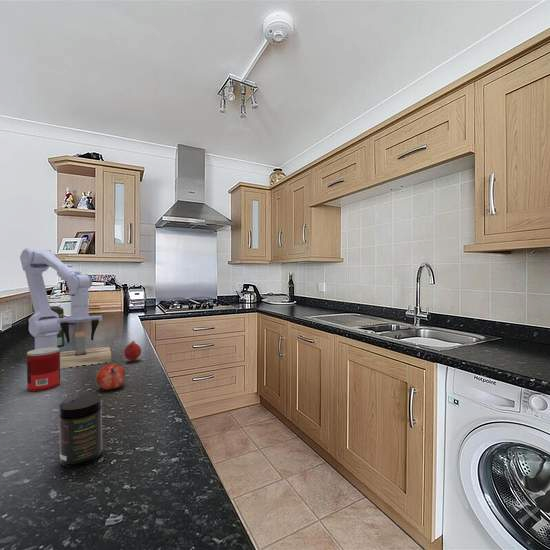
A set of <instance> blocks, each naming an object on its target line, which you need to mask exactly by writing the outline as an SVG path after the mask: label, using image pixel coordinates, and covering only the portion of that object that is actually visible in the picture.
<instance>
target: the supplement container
mask: <svg viewBox="0 0 550 550" xmlns="http://www.w3.org/2000/svg"><path fill="white" fill-rule="evenodd" d="M58 420H59V421H58V422H59V423H58V424H59V425H58V426H59V463H60V464H61V465H62V466H63V467H65V466H66V468H77V467H76V466H79V467H82V466H81V465H83V466H85V464H86V465H88V464H90V463H92V462H94V461H95V460H97V459H98V458H99V456H100V455H101V454H102V452H103V397H102V396H101V395H99V394H82V395H77V396H73V397H71V398H68V399H66V400H64V401H62V402H60V403H59V405H58ZM97 457H98V458H97ZM93 460H94V461H93ZM89 462H90V463H89ZM87 463H88V464H87Z"/></svg>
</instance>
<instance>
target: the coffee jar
mask: <svg viewBox="0 0 550 550" xmlns="http://www.w3.org/2000/svg"><path fill="white" fill-rule="evenodd" d="M50 309H51V310H52V311H54V312H56V313H57V314H58V317H59V318H65V315H64V313H65V312H64V308H62V307H61V306H57V305H52V306H51V305H50ZM64 345H65V333H64V331H63V330H62V328H61V330H60V331H59V334H57V348H59V347H63V346H64Z"/></svg>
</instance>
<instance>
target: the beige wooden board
mask: <svg viewBox="0 0 550 550" xmlns="http://www.w3.org/2000/svg"><path fill="white" fill-rule="evenodd" d="M105 362H107V363H111V362H112V351H111V349H110V346H104V347H103V346H101V347H93V348H85V353H81V354H76V350H69V351H60V370H62V369H63V368H65V369H70V368H69V367H72V368H77V367H76V366H79V367H83V366H82V365H86V366H92V365H91V364H93V365H99V364H98V363H100V364H105ZM63 370H64V369H63Z"/></svg>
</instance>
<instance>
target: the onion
mask: <svg viewBox="0 0 550 550" xmlns="http://www.w3.org/2000/svg"><path fill="white" fill-rule="evenodd" d="M123 353H124V357H125V358H126V359H127V360H128V361H130V362H133V361H134V362H135V361H136V360H137V359H138V358H140V356H141V354H142V347H140V345H139V344H137V343H136V341H135V340H131V342H130V343H129V344H128V345H127V346H126V347H125V349H124V352H123Z"/></svg>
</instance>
